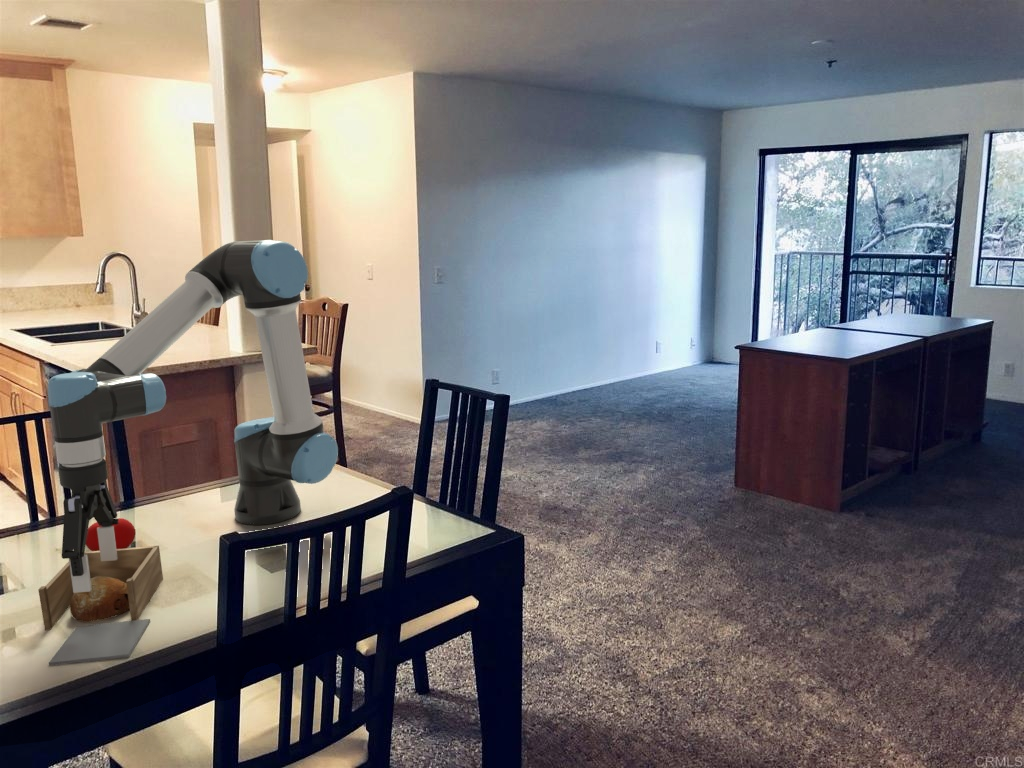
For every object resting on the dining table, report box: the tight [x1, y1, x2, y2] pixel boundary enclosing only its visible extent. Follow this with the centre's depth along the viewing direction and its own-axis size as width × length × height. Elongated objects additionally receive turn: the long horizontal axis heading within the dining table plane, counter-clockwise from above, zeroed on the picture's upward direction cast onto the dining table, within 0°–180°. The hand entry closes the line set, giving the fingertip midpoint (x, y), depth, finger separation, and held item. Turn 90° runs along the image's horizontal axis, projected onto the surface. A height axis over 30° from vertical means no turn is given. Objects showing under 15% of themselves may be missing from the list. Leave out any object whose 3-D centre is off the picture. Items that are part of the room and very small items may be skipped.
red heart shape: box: [85, 517, 137, 551], centre depth 163 cm, size 9×7×10 cm
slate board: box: [48, 618, 151, 666], centre depth 134 cm, size 12×12×1 cm
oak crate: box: [38, 545, 164, 631], centre depth 147 cm, size 15×17×8 cm
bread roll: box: [69, 576, 130, 623], centre depth 145 cm, size 10×10×8 cm
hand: (96, 575), depth 144 cm, fingers open, 13 cm apart
